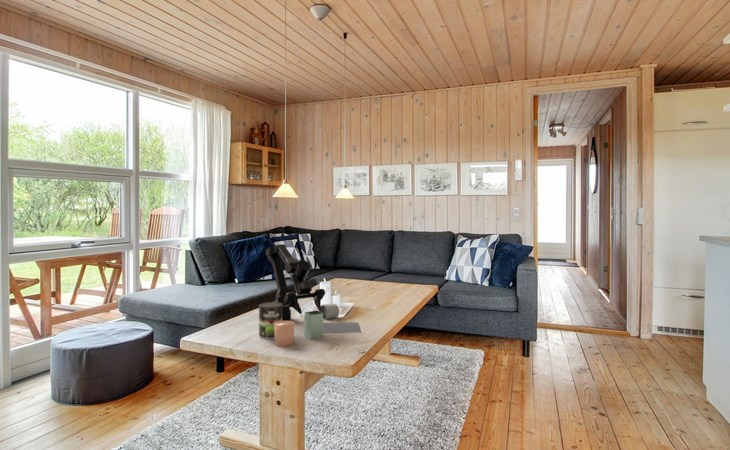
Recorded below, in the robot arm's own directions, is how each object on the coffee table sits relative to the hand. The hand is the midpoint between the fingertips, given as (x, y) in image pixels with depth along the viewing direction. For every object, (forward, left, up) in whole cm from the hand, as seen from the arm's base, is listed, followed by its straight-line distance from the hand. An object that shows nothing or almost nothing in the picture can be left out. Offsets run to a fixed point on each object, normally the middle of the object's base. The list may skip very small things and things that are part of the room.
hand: (310, 312), depth 180 cm
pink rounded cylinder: (-11, -11, -11) cm, 18 cm away
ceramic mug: (+8, +28, -11) cm, 31 cm away
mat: (+13, +9, -11) cm, 19 cm away
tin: (+1, -3, -11) cm, 11 cm away
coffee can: (-18, +1, -11) cm, 21 cm away
